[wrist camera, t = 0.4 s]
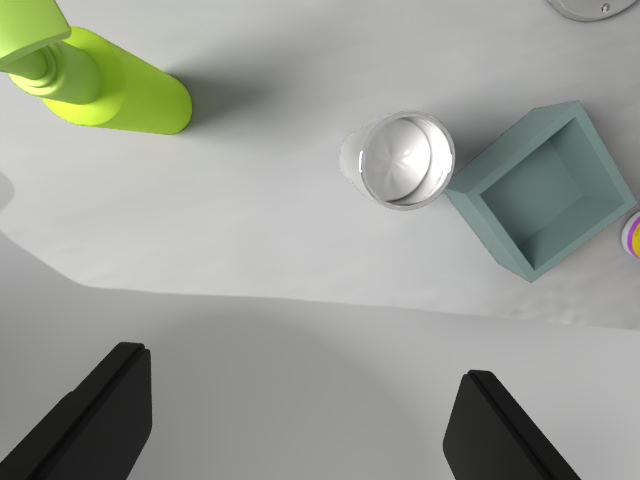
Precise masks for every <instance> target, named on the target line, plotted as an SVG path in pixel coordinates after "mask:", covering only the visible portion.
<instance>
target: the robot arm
mask: <svg viewBox="0 0 640 480" xmlns="http://www.w3.org/2000/svg"><path fill="white" fill-rule="evenodd" d="M635 1H636V0H549V2H550V3H551V4H552V6H553V7H554V8H555V9H556V10H557V11H559V12H560V13H561V14H562V15H564V16H566V17H568V18H571V19H573V20H578V21H583V22H584V21H596V20H600V19H604V18H607V17H609V16H611V15H614V14H616V13H618V12H620V11H622V10H624V9H625V8H627V7H629V6H630V5H631V4H633V3H634V2H635ZM151 397H152V396H151V356H150V350H149V349H145V346H144V344H141V343H130V342H120V343H119V344H118V345H116V347H114V349H113V350H112V351H111V352H110V353H109V354H108V355H107V356H106V357H105V358H104V359H103V360H102V361H101V362H100V363H99V364H98V366H97V367H96V368H95V369H94V370H93V371H92V372H91V373H90V374H89V375H88V376H87V377H86V378H85V379H84V380H83V381H82V382H81V383H80V385H79V386H78V387H77V388H76V389H75V390H74V391H71V392H69V393H68V394H67V395H66V396H65V397H64V398H62V399H61V400H60V401H59V403H58V404H57V405H56V406H55V407H54V408H53V409H52V410H51V411H50V412H49V413H48V414H47V415H46V416H45V417H44V418H43V419H42V420H41V421H40V422H39V423H38V424H37V425H36V427H34V428H33V429H32V430H31V432H30V433H29V434H28V435H27V436H26V437H25V438H24V439H23V440H22V441H21V442H20V443H19V444H18V445H17V446H16V447H15V448H14V449H13V451H11V452H10V453H9V454H8V456H7V457H6V458H5V459H4V460H3V461H2V462H1V463H0V480H126V479H127V477H128V475H129V473H130V471H131V469H132V468H133V466H134V464H135V462H136V460H137V458H138V456H139V455H140V452H141V451H142V449H143V447H144V445H145V443H146V442H147V440H148V437H149V435H150V432H151V428H152V398H151ZM443 451H444V454H445V457H446V459H447V461H448V464H449V466H450V468H451V470H452V473H453V475H454V477H455V479H456V480H581V479H580V478H579V477H578V475H577V474H576V473H575V472H574V470H573V469H572V468H571V467H570V466H569V464H568V463H567V462H566V461H565V460H564V458H563V457H562V456H561V455H560V454H559V452H558V451H557V450H556V449H555V448H554V446H553V445H552V444H551V443H550V441H549V440H548V439H547V438H546V437H545V435H544V434H543V433H542V432H541V431H540V429H539V428H538V427H537V426H536V425H535V423H534V422H533V421H532V420H531V419H530V417H529V416H528V415H527V414H526V412H525V411H524V410H523V409H522V408H521V406H520V405H519V404H518V403H517V402H516V400H515V399H514V398H513V397H512V396H511V394H510V393H509V392H508V391H507V390H506V388H505V387H504V386H503V385H502V384H501V382H500V381H499V380H498V379H497V378H496V376H495V375H494V374H493V373H492V372H490V371H482V370H470V371H469V372H468V373H467V374H464V375H463V377H462V380H461V384H460V387H459V390H458V393H457V396H456V400H455V403H454V406H453V410H452V413H451V416H450V420H449V423H448V427H447V430H446V433H445V437H444V440H443Z"/></svg>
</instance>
